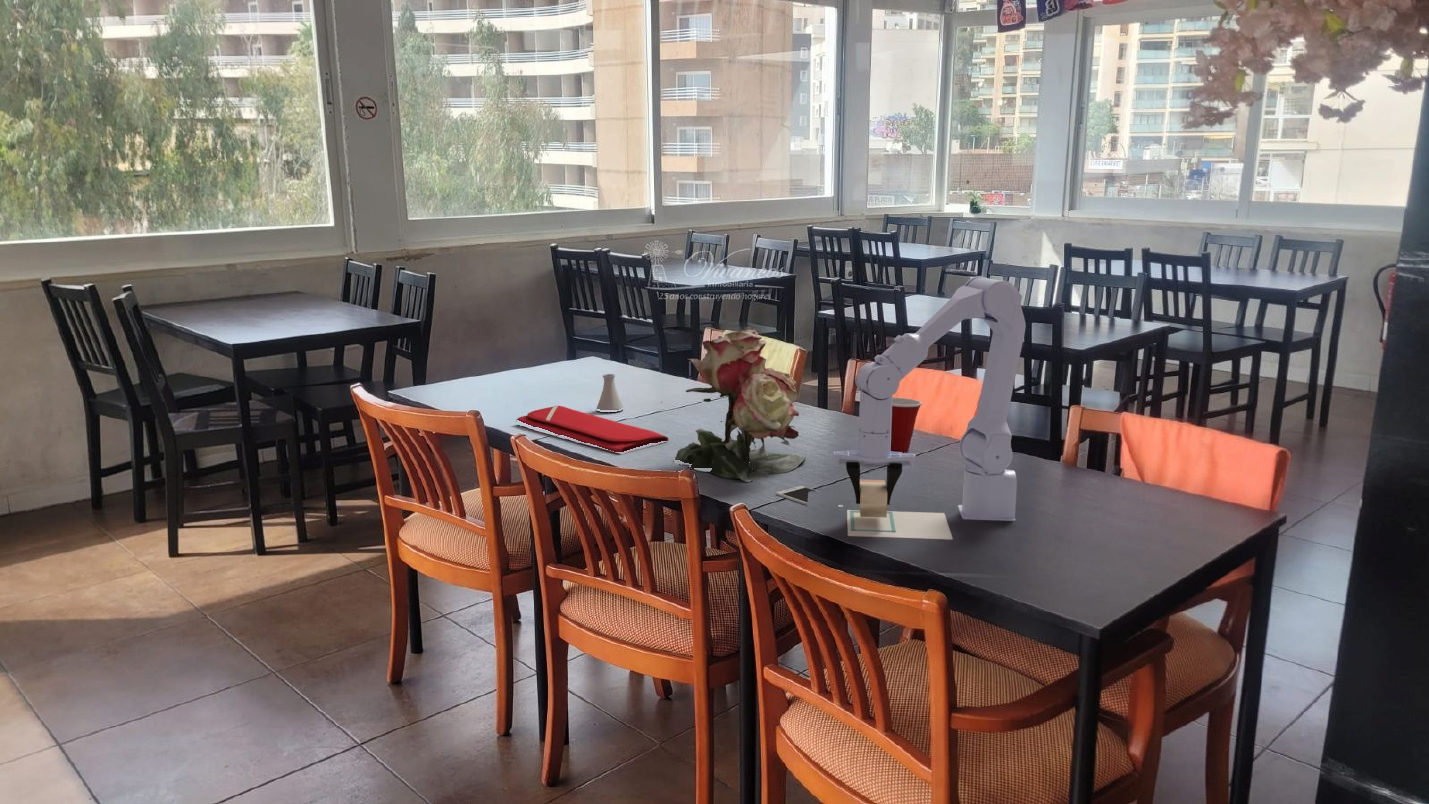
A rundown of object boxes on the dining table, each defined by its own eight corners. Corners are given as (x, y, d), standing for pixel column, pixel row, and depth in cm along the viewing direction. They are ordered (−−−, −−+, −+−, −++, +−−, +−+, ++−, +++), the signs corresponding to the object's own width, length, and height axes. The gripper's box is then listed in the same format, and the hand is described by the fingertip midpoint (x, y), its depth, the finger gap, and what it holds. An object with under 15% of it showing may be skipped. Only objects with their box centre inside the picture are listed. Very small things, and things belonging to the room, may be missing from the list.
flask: (628, 410, 274) (627, 374, 272) (612, 415, 268) (611, 378, 266) (607, 406, 278) (606, 371, 275) (591, 412, 272) (589, 375, 269)
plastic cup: (929, 449, 232) (931, 398, 230) (903, 458, 225) (905, 406, 222) (889, 441, 240) (891, 392, 237) (863, 450, 232) (865, 399, 229)
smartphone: (831, 515, 188) (831, 510, 188) (775, 496, 200) (775, 491, 200) (857, 507, 193) (857, 503, 193) (801, 489, 205) (801, 485, 204)
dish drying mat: (619, 457, 229) (618, 441, 228) (514, 427, 257) (514, 413, 256) (669, 444, 240) (669, 429, 239) (563, 417, 268) (563, 403, 267)
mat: (944, 515, 187) (944, 512, 187) (952, 542, 173) (952, 538, 173) (846, 512, 189) (846, 509, 189) (847, 538, 175) (847, 535, 175)
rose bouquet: (762, 489, 204) (763, 343, 197) (660, 462, 223) (658, 329, 216) (835, 462, 222) (838, 328, 216) (736, 440, 241) (736, 316, 235)
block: (886, 517, 178) (887, 493, 177) (860, 516, 178) (861, 492, 177) (883, 503, 186) (884, 480, 185) (858, 502, 186) (859, 479, 185)
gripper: (914, 425, 182) (911, 497, 185) (834, 423, 183) (832, 494, 186) (917, 435, 175) (914, 509, 178) (834, 433, 177) (832, 506, 180)
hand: (872, 502), depth 182 cm, fingers closed on block, 5 cm apart
